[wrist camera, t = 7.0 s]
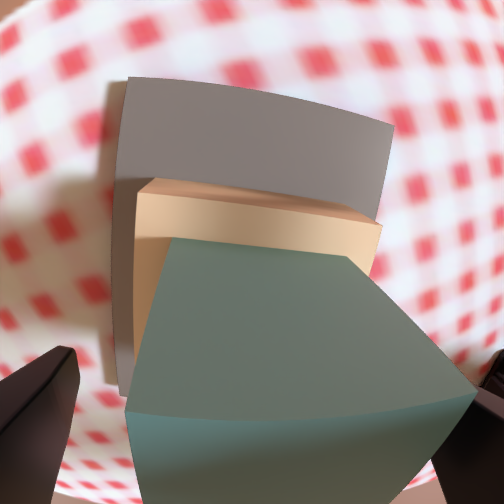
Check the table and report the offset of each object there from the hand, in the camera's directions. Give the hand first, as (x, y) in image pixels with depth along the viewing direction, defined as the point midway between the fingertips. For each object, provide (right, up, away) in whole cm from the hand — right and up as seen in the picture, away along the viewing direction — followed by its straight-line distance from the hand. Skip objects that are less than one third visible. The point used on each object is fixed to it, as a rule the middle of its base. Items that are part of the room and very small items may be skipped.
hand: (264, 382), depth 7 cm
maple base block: (-1, +2, +5) cm, 6 cm away
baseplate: (-1, +2, +6) cm, 6 cm away
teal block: (0, +1, +3) cm, 3 cm away
